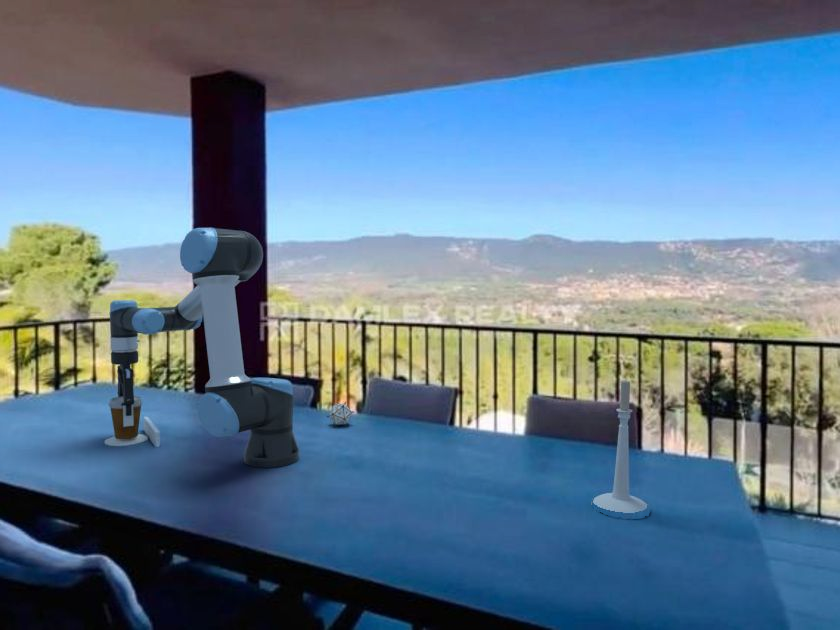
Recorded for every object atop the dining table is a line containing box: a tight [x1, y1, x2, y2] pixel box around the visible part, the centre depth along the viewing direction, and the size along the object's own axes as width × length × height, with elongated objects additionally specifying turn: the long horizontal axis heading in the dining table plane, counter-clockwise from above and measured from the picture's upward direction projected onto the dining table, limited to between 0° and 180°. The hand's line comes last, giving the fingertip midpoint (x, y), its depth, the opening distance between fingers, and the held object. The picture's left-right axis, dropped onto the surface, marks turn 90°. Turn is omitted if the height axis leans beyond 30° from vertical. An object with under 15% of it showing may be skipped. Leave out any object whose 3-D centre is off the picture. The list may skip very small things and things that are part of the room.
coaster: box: [104, 433, 149, 447], centre depth 183 cm, size 12×12×1 cm
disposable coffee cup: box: [108, 395, 144, 439], centre depth 183 cm, size 10×10×12 cm
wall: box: [143, 416, 161, 448], centre depth 186 cm, size 22×1×4 cm, turn 34°
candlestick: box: [592, 380, 648, 513], centre depth 134 cm, size 13×13×30 cm
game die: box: [326, 401, 355, 428], centre depth 205 cm, size 9×8×10 cm
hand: (126, 422), depth 183 cm, fingers closed on disposable coffee cup, 9 cm apart
